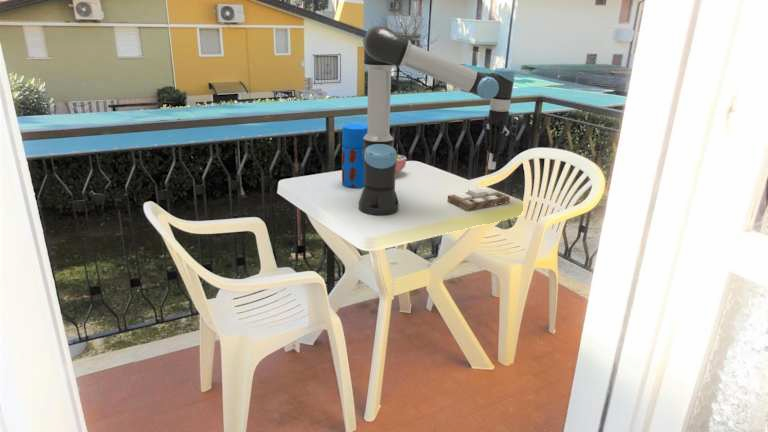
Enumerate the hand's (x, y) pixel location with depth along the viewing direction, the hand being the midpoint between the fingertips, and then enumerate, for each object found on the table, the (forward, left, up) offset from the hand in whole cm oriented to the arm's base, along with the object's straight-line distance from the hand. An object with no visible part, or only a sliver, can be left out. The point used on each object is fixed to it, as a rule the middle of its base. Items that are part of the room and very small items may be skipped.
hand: (491, 168), depth 211 cm
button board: (-7, -2, -13) cm, 14 cm away
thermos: (-41, +39, -13) cm, 58 cm away
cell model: (-21, +47, -13) cm, 53 cm away
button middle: (-7, 0, -11) cm, 12 cm away
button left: (-14, 0, -12) cm, 18 cm away
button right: (0, 0, -12) cm, 12 cm away
